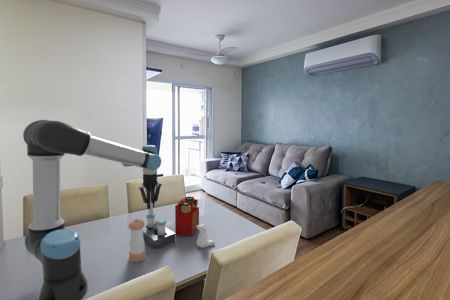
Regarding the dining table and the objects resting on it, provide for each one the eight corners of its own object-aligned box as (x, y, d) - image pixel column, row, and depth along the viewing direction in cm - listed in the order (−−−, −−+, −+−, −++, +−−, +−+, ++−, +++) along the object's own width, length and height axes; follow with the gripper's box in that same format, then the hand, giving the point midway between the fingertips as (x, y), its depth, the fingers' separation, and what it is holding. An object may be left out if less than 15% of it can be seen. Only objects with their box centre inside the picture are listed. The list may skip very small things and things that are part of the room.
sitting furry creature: (215, 244, 130) (215, 223, 128) (205, 251, 122) (205, 229, 121) (201, 239, 135) (201, 218, 133) (191, 245, 128) (191, 224, 126)
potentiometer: (154, 231, 131) (154, 223, 131) (152, 230, 133) (151, 221, 133) (159, 230, 133) (159, 221, 132) (157, 228, 135) (157, 219, 135)
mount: (154, 249, 123) (154, 240, 122) (137, 235, 137) (137, 227, 136) (175, 242, 131) (175, 233, 130) (157, 229, 145) (157, 221, 145)
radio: (191, 237, 136) (191, 203, 134) (174, 235, 138) (174, 201, 136) (199, 225, 152) (200, 194, 149) (184, 223, 153) (184, 193, 151)
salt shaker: (128, 263, 111) (127, 223, 109) (130, 254, 118) (129, 217, 116) (145, 260, 113) (144, 221, 111) (145, 252, 120) (145, 215, 118)
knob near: (159, 237, 126) (159, 224, 125) (155, 233, 129) (155, 221, 128) (167, 234, 129) (167, 221, 128) (163, 231, 132) (163, 218, 131)
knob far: (148, 229, 134) (148, 217, 133) (144, 226, 138) (144, 214, 137) (156, 226, 137) (156, 214, 137) (152, 223, 141) (152, 212, 140)
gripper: (141, 176, 126) (142, 219, 129) (164, 172, 135) (164, 213, 138) (135, 173, 132) (136, 215, 135) (157, 170, 141) (158, 209, 144)
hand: (150, 213), depth 137 cm, fingers closed
